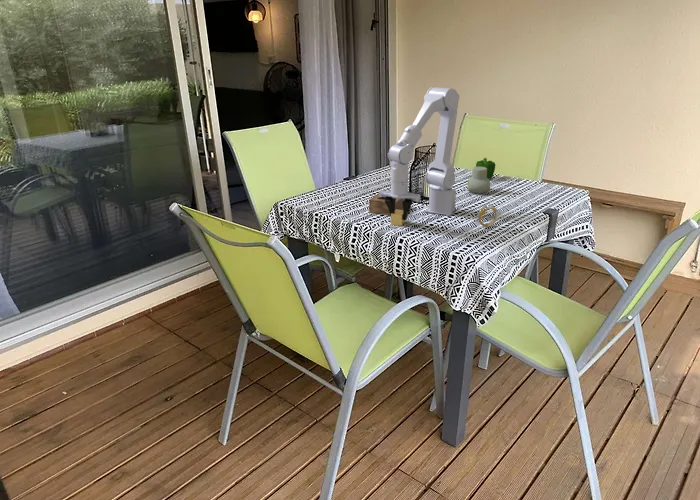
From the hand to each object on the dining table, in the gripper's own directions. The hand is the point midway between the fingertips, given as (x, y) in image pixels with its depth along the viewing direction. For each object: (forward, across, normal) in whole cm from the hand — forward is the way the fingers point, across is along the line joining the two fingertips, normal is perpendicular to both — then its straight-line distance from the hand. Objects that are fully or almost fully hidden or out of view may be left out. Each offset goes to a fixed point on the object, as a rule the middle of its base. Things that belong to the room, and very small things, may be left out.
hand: (398, 218), depth 179 cm
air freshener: (+2, +17, +48) cm, 51 cm away
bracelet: (+2, +29, +8) cm, 30 cm away
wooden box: (+2, -9, +12) cm, 15 cm away
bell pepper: (+2, +15, +69) cm, 71 cm away
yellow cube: (+2, 0, 0) cm, 2 cm away
